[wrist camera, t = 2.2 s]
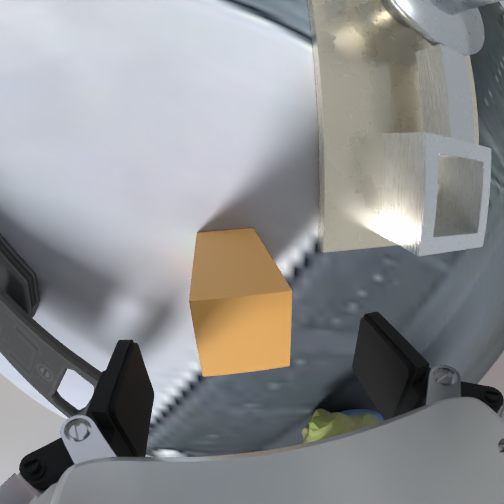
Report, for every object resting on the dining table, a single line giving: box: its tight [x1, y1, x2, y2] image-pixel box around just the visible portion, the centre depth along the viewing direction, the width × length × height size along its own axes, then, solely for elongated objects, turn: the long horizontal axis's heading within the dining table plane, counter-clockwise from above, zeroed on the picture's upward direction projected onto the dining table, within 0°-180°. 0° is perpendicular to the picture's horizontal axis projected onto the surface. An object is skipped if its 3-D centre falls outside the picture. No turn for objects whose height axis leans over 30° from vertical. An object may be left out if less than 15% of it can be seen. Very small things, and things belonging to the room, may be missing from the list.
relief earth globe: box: [302, 408, 384, 444], centre depth 24 cm, size 14×16×15 cm
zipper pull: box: [0, 234, 102, 418], centre depth 16 cm, size 9×7×25 cm
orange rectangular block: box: [189, 228, 292, 376], centre depth 16 cm, size 4×4×10 cm
